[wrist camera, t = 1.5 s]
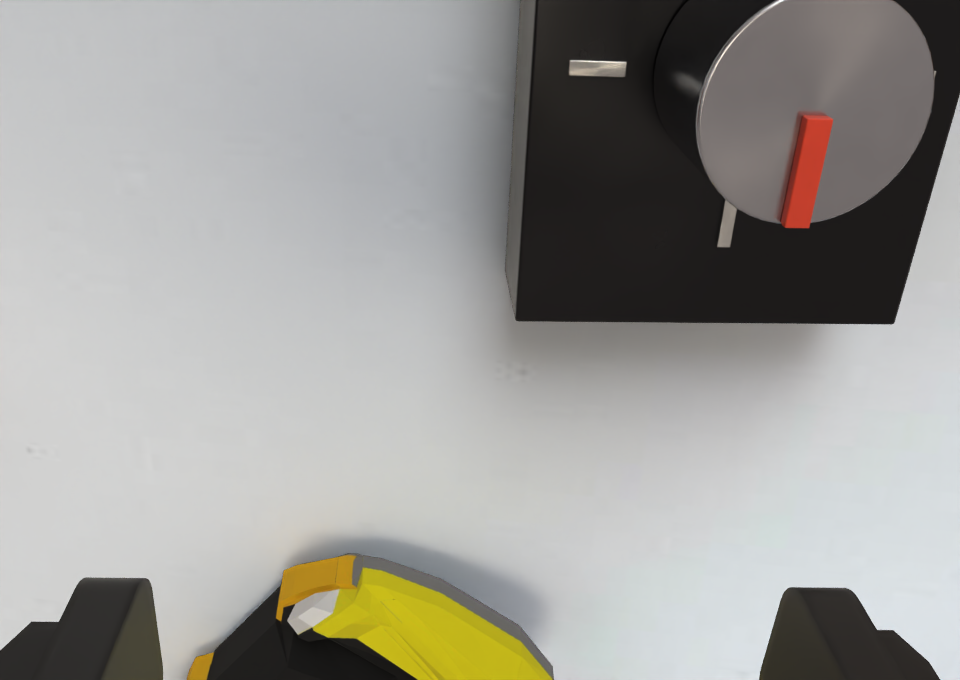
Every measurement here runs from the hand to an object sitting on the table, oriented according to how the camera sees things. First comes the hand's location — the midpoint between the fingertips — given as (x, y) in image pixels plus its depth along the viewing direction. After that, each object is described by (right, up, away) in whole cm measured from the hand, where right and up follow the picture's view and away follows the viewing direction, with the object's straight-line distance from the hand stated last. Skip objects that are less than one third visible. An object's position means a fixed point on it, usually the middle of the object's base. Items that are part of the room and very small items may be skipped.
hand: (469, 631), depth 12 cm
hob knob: (+7, +10, +11) cm, 16 cm away
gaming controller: (-5, -9, +25) cm, 27 cm away
